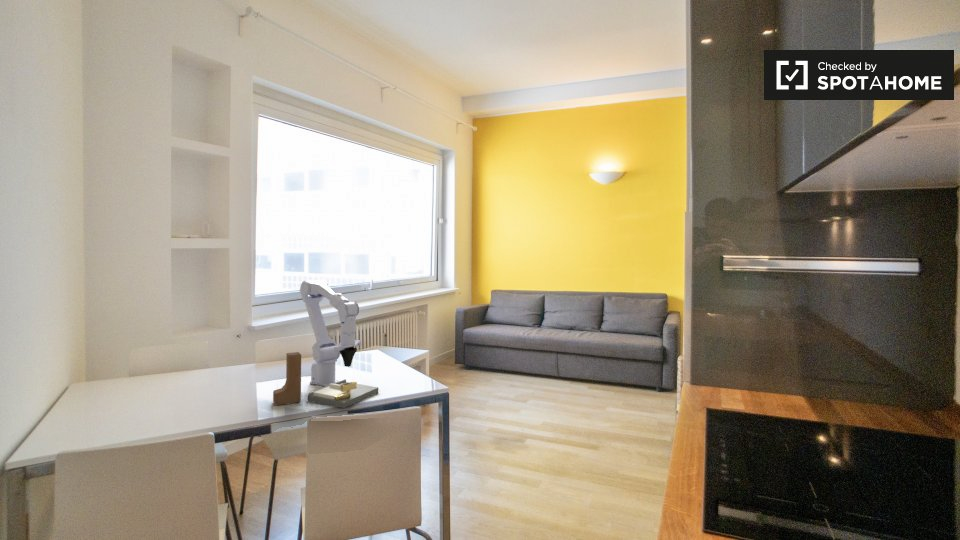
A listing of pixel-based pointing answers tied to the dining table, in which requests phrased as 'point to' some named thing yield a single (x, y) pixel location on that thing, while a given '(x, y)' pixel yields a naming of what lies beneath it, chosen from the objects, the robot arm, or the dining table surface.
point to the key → (347, 388)
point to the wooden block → (290, 382)
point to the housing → (355, 396)
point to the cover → (329, 391)
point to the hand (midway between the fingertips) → (347, 366)
